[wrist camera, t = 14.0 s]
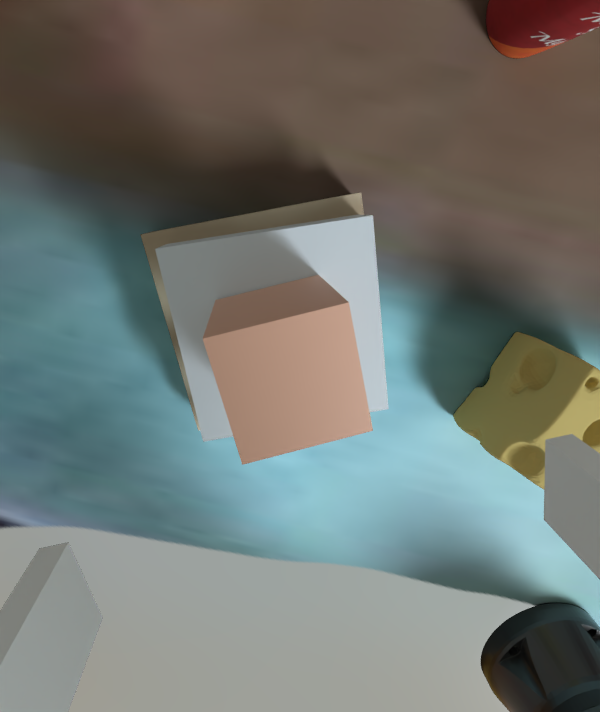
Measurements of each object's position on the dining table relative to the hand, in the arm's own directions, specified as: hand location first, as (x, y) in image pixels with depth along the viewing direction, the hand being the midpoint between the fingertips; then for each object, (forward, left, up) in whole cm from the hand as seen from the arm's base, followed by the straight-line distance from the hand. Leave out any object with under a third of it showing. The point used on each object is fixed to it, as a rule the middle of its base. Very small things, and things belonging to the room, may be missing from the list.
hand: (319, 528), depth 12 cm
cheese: (-13, -22, -27) cm, 37 cm away
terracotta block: (0, 0, -19) cm, 19 cm away
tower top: (0, 0, -23) cm, 23 cm away
